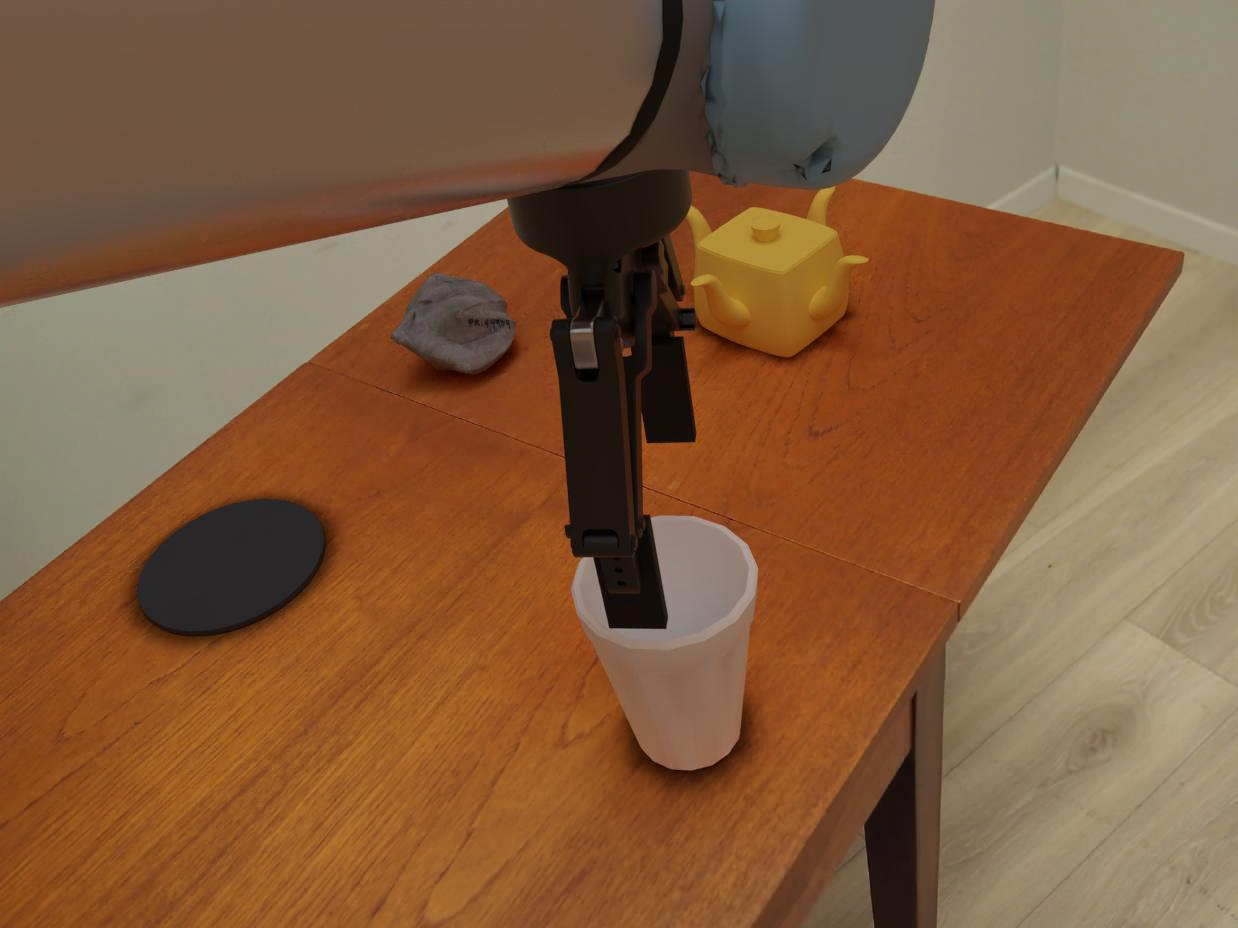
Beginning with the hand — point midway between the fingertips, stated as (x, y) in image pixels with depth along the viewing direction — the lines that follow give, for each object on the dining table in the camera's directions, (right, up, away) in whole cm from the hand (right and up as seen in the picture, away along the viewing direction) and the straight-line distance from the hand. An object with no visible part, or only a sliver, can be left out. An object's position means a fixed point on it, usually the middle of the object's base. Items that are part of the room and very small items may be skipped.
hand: (656, 523), depth 60 cm
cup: (+2, -13, +10) cm, 17 cm away
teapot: (+12, +16, +44) cm, 48 cm away
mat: (-31, -5, +28) cm, 42 cm away
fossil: (-16, +12, +45) cm, 49 cm away
